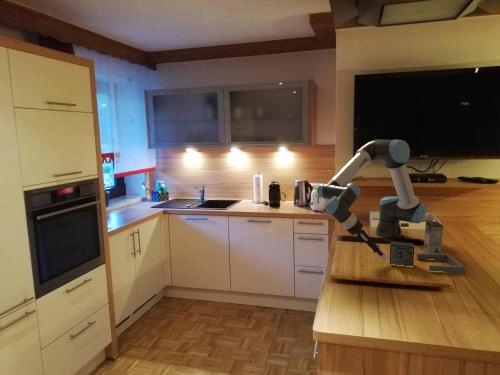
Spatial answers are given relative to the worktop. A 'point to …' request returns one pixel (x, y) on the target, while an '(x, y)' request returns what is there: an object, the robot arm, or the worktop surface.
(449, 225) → the worktop surface
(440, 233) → the coffee box
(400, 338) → the worktop surface
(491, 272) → the worktop surface
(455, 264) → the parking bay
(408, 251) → the small box
